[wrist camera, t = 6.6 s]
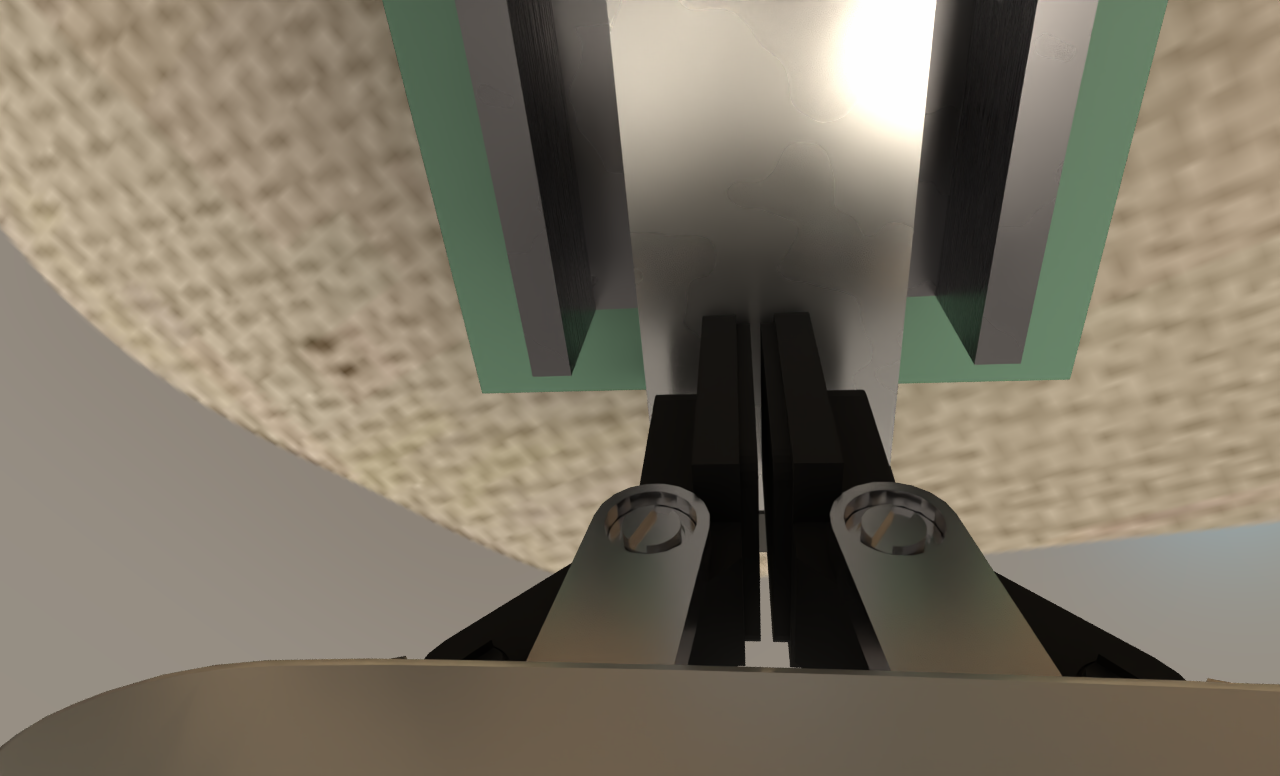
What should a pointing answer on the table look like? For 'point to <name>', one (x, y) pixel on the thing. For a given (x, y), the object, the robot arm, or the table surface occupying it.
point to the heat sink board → (622, 326)
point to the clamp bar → (773, 178)
